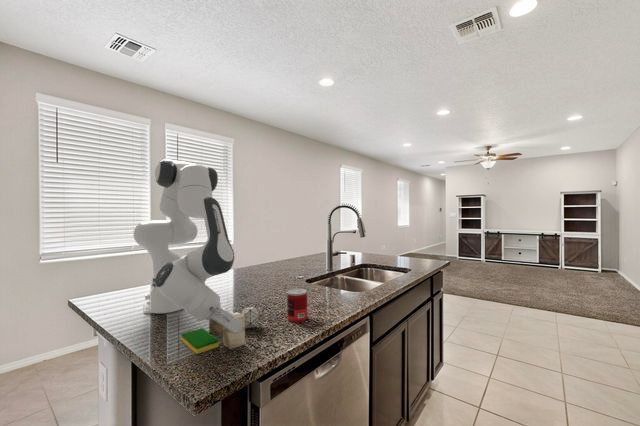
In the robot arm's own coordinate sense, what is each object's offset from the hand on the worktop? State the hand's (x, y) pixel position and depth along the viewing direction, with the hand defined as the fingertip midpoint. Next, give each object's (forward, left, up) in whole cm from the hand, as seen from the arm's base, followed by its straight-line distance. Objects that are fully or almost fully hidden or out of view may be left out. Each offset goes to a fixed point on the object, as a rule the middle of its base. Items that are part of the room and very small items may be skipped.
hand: (235, 328), depth 93 cm
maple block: (0, -1, -5) cm, 5 cm away
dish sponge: (-9, -8, -6) cm, 13 cm away
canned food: (-3, +27, -5) cm, 28 cm away
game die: (-8, +9, -5) cm, 13 cm away
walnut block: (-13, 0, -5) cm, 14 cm away
